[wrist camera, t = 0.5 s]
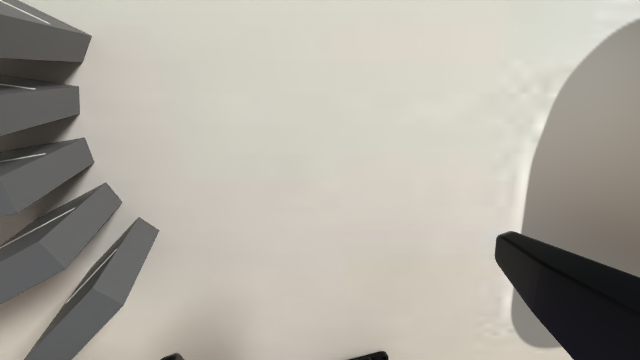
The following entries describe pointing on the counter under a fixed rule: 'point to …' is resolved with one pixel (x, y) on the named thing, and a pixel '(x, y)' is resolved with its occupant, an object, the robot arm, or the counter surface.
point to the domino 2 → (34, 103)
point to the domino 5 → (97, 295)
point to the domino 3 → (38, 171)
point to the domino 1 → (38, 35)
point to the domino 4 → (53, 241)
